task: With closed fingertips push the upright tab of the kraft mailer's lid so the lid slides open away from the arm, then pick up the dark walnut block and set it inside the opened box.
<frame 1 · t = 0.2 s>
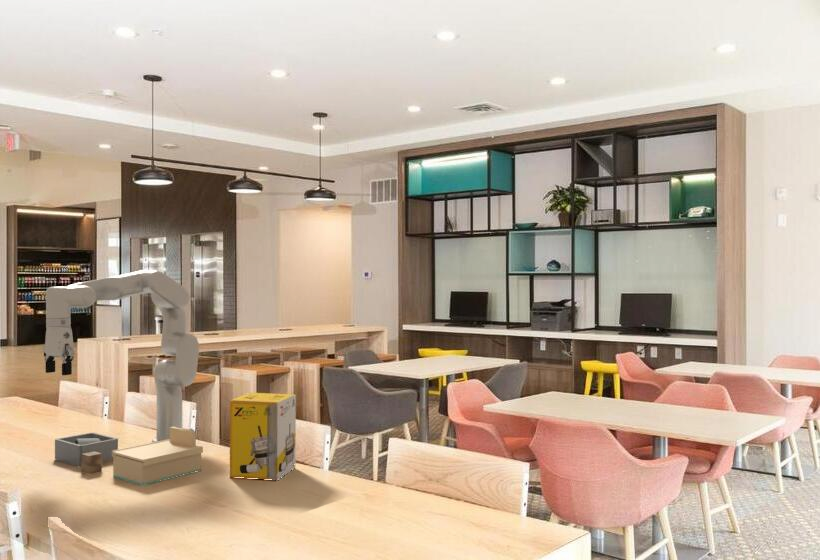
hand: (58, 373, 258), 31 cm above the table, tool pointing down, fingers open, 9 cm apart
coaster tray: (86, 458, 267), on the table
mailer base: (157, 473, 249), on the table
ceramic mug: (86, 459, 267), resting in coaster tray
walnut block: (91, 471, 250), on the table
packaging box: (263, 473, 251), on the table
lid: (158, 444, 248), point 10 cm above the table, slide at 0.0 cm
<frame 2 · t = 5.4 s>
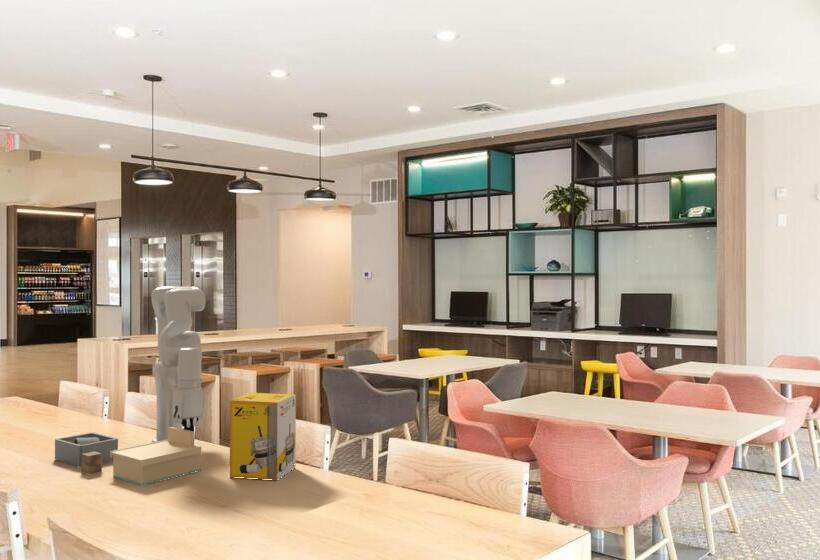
hand: (189, 438, 258), 10 cm above the table, tool pointing down, fingers closed
ceramic mug: (85, 458, 268), resting in coaster tray
lid: (156, 444, 248), point 10 cm above the table, slide at 0.6 cm, touching gripper
everything else where it was.
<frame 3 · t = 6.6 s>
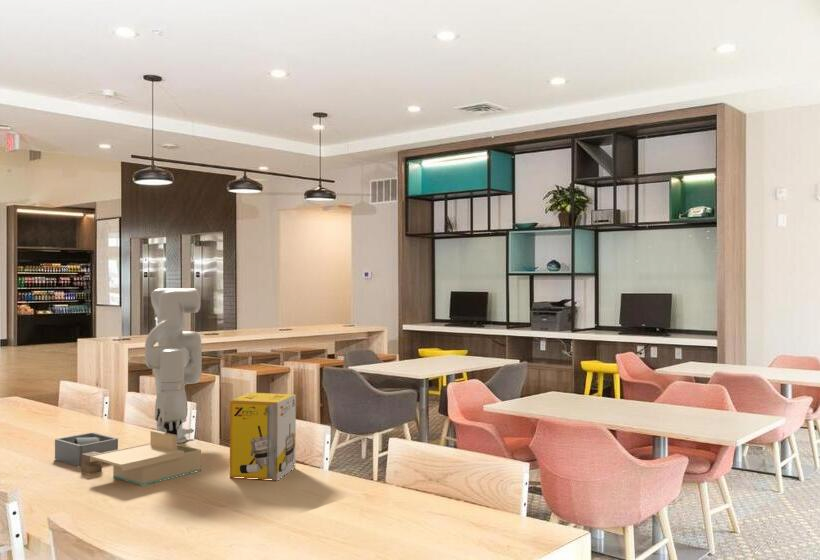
hand: (171, 441, 253), 10 cm above the table, tool pointing down, fingers closed
lid: (137, 448, 243), point 10 cm above the table, slide at 7.4 cm, touching gripper
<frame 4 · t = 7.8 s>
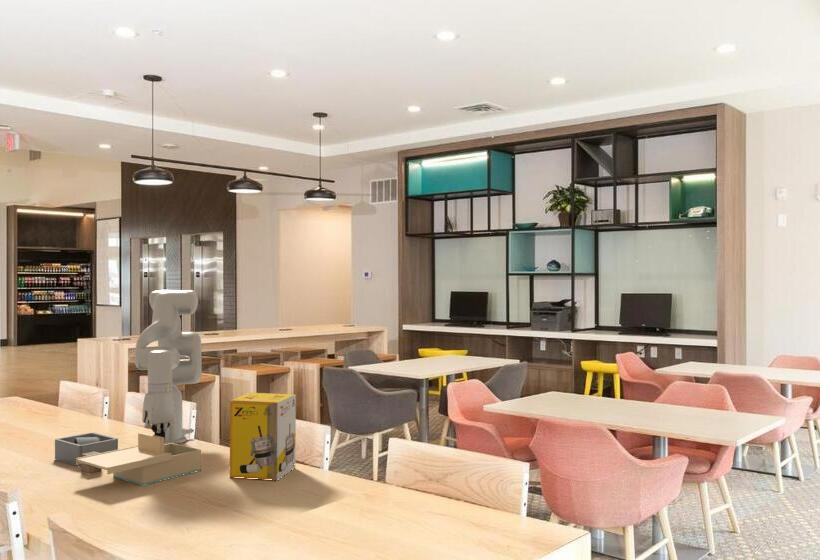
hand: (159, 444, 249), 10 cm above the table, tool pointing down, fingers closed
lid: (124, 451, 239), point 10 cm above the table, slide at 12.1 cm, touching gripper
everything else where it was.
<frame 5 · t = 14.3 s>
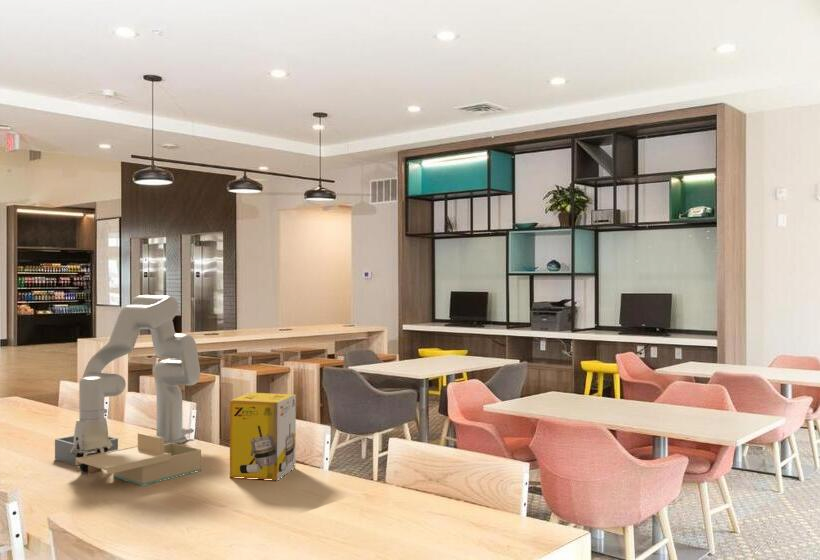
hand: (91, 469, 250), 1 cm above the table, tool pointing down, fingers closed on walnut block, 4 cm apart
walnut block: (91, 471, 250), on the table, touching gripper
lid: (124, 451, 239), point 10 cm above the table, slide at 12.2 cm
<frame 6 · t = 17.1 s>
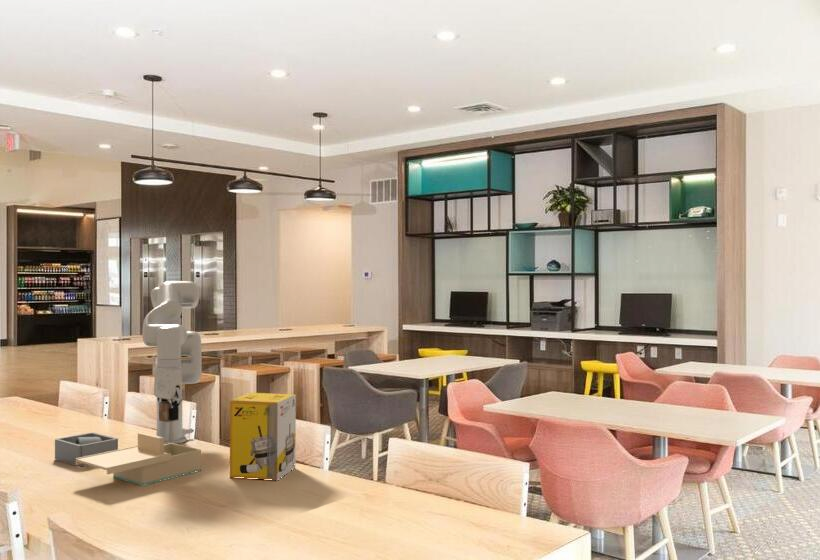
hand: (168, 418, 253), 17 cm above the table, tool pointing down, fingers closed on walnut block, 4 cm apart
walnut block: (168, 420, 253), point 17 cm above the table, touching gripper
when the fingers open (4 cm above the table, at t = 20.1 s): walnut block drops 3 cm, resting on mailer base.
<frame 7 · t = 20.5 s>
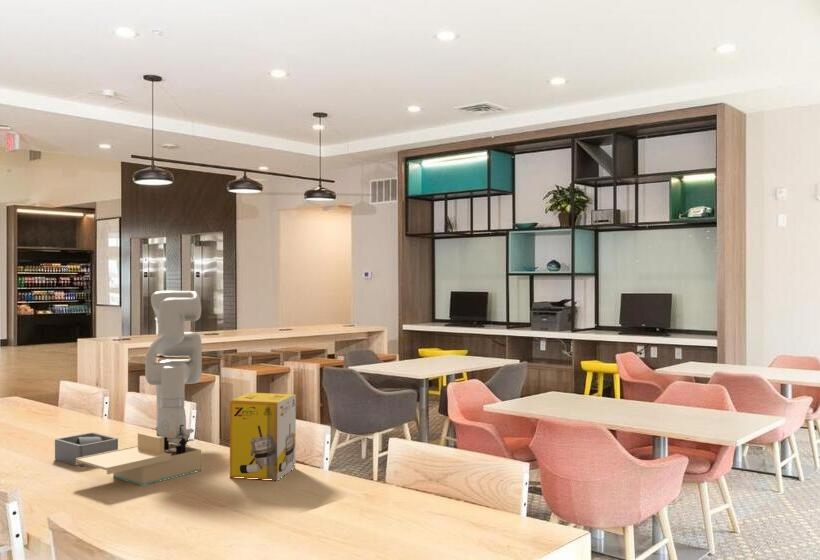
hand: (172, 454, 253), 5 cm above the table, tool pointing down, fingers open, 8 cm apart
walnut block: (172, 468, 253), point 1 cm above the table, touching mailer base
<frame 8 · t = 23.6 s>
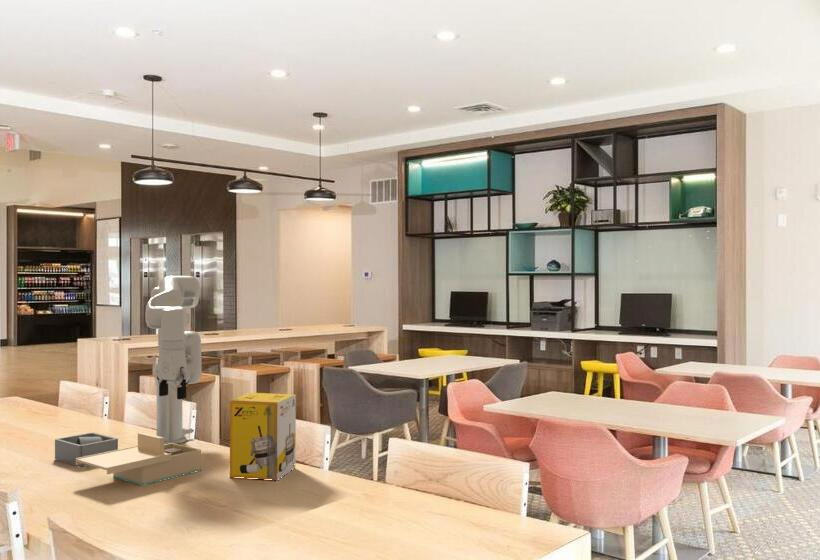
hand: (172, 397, 253), 24 cm above the table, tool pointing down, fingers open, 9 cm apart
at the end: lid slide at 12.2 cm; walnut block inside the target area on the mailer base (1.0 cm from its centre), point 0.7 cm above the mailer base's base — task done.
